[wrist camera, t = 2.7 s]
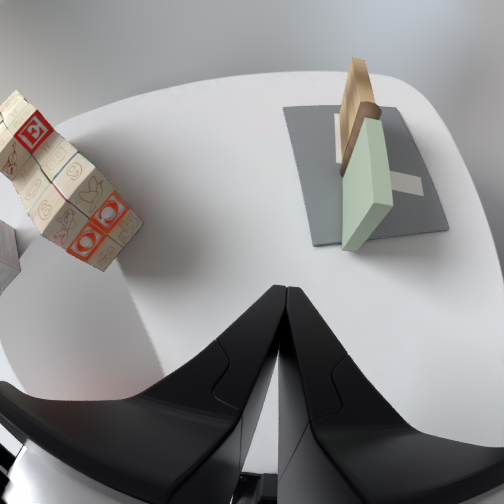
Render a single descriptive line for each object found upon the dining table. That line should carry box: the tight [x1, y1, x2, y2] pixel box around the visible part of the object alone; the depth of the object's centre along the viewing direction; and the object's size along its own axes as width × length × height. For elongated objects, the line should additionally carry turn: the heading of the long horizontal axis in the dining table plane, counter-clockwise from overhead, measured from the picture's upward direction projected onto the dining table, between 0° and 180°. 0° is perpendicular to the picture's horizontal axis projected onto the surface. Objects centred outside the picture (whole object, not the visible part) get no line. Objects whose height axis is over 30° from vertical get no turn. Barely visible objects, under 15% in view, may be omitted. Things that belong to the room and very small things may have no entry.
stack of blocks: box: [0, 90, 144, 272], centre depth 21 cm, size 21×6×12 cm, turn 51°
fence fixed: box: [339, 58, 382, 178], centre depth 21 cm, size 9×2×8 cm, turn 172°
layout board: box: [283, 105, 449, 246], centre depth 25 cm, size 16×14×1 cm
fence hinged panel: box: [342, 117, 393, 252], centre depth 19 cm, size 7×1×8 cm, turn 172°
